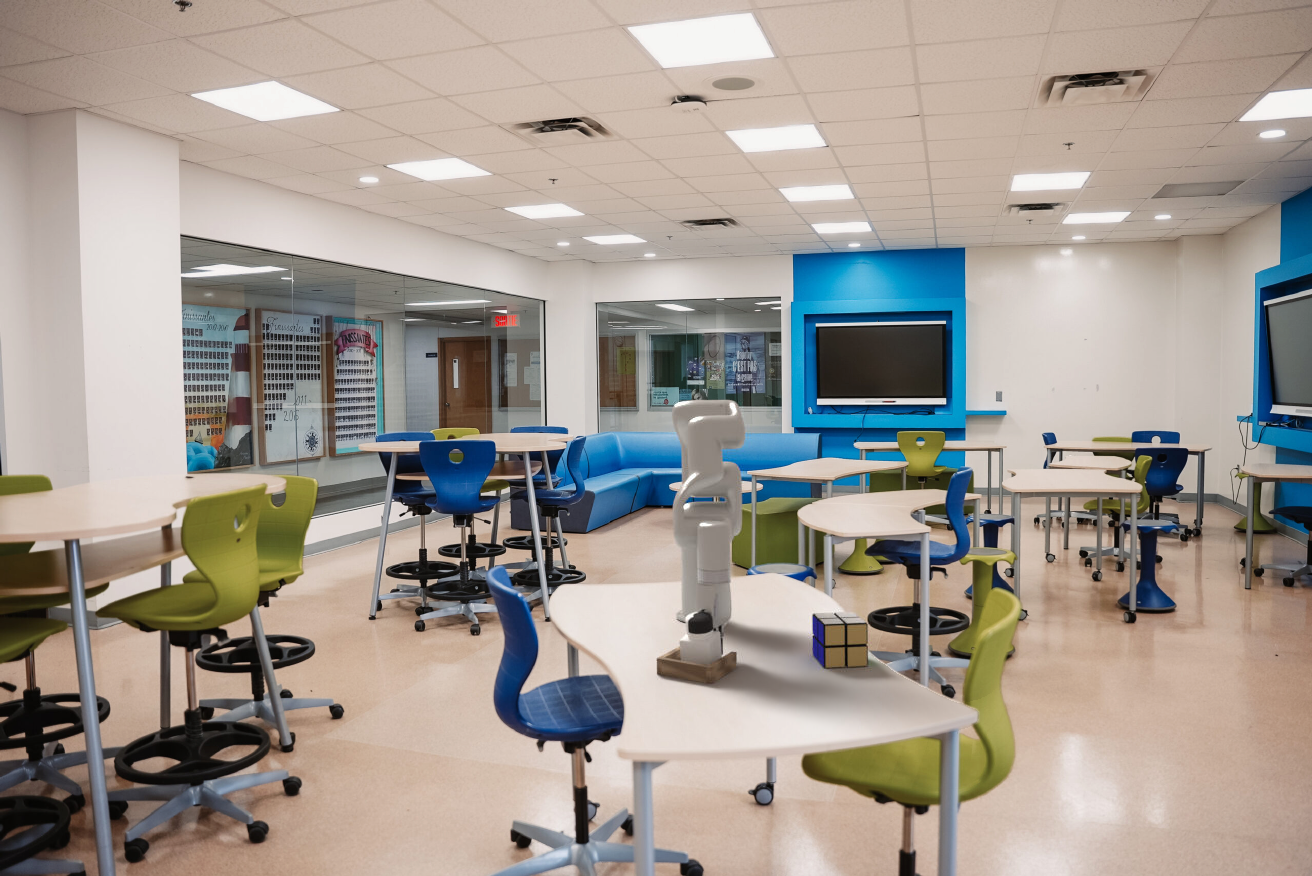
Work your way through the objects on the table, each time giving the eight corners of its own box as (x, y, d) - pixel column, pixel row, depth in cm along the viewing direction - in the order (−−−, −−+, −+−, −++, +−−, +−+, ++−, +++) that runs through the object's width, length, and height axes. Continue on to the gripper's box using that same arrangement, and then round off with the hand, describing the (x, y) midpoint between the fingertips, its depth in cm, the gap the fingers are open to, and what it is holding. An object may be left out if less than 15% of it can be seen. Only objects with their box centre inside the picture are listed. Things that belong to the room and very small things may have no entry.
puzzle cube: (812, 655, 202) (811, 613, 202) (854, 653, 203) (854, 611, 203) (824, 669, 192) (823, 624, 192) (868, 667, 193) (868, 622, 193)
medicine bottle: (722, 661, 196) (719, 610, 194) (711, 674, 190) (707, 622, 188) (693, 657, 199) (689, 607, 197) (681, 670, 193) (677, 619, 191)
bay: (684, 658, 201) (684, 643, 201) (736, 667, 194) (736, 652, 194) (656, 673, 191) (656, 658, 190) (711, 683, 184) (710, 667, 183)
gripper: (714, 568, 207) (715, 644, 208) (683, 580, 194) (685, 661, 195) (743, 571, 203) (744, 648, 204) (713, 583, 190) (714, 666, 191)
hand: (715, 654), depth 199 cm, fingers closed
